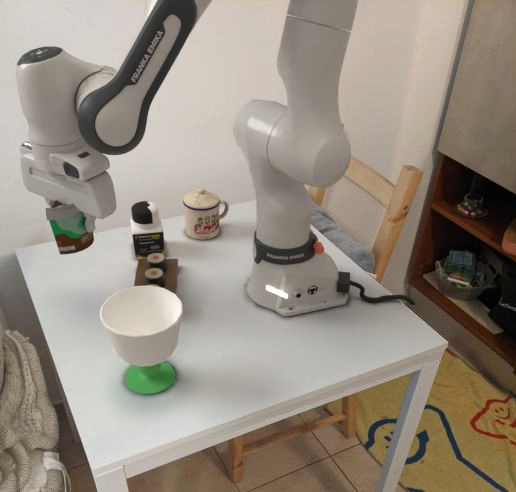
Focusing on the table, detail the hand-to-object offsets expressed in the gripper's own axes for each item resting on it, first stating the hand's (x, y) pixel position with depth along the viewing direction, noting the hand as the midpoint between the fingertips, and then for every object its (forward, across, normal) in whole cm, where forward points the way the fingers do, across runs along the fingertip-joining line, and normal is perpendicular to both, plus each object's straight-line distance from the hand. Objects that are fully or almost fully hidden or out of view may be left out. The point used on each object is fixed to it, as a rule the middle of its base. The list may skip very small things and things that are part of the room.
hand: (74, 224), depth 105 cm
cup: (+19, +24, -10) cm, 33 cm away
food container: (+4, +1, +1) cm, 4 cm away
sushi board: (+19, +8, +11) cm, 24 cm away
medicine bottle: (+19, -4, +23) cm, 31 cm away
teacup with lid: (+19, +2, +39) cm, 44 cm away
